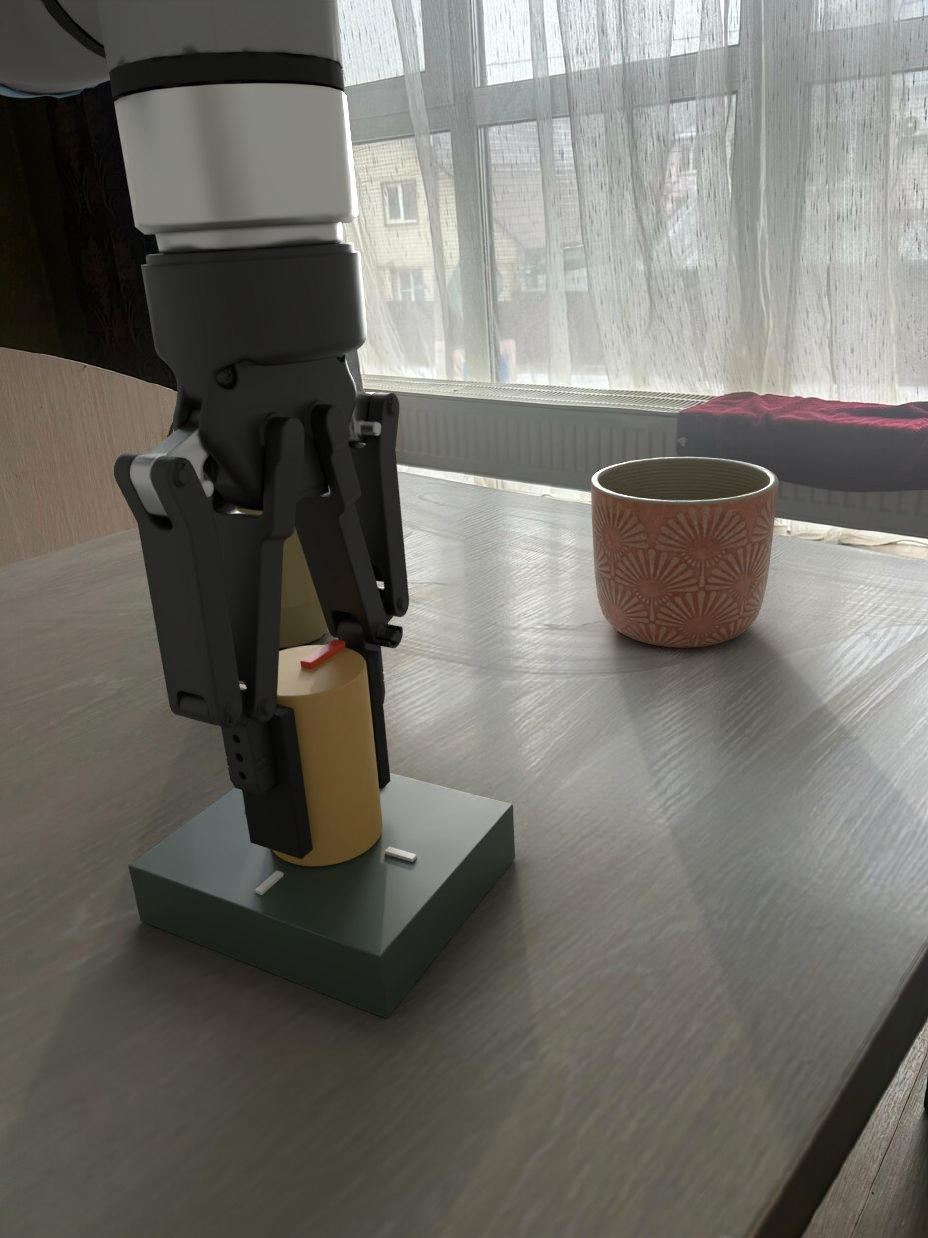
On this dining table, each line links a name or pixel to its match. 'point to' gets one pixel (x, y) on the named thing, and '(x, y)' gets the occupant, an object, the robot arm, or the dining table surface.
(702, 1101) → the dining table surface
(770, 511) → the planter
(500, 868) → the panel
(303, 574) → the squeeze bottle
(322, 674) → the dial
